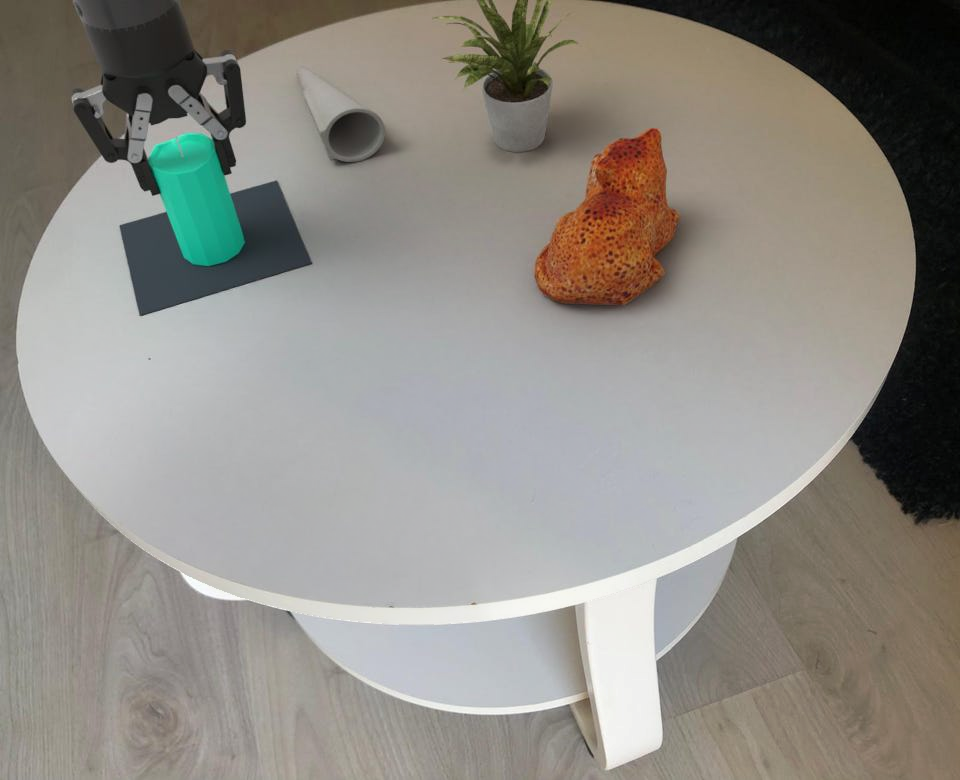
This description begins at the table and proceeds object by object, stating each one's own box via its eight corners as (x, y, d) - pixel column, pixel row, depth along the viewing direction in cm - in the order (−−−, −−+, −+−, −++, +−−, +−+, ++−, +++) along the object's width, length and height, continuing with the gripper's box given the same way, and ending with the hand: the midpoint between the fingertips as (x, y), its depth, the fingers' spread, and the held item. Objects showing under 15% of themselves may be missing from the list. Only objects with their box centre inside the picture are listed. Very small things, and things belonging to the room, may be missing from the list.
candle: (248, 222, 96) (215, 114, 87) (241, 263, 92) (205, 154, 83) (186, 227, 96) (147, 120, 87) (177, 268, 92) (135, 160, 83)
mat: (139, 316, 89) (139, 315, 89) (119, 226, 98) (119, 225, 98) (311, 263, 92) (311, 262, 92) (277, 181, 101) (276, 180, 101)
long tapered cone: (354, 75, 116) (392, 149, 102) (302, 94, 116) (333, 170, 102) (338, 29, 112) (375, 99, 98) (285, 48, 112) (315, 121, 98)
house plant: (462, 91, 109) (447, -58, 97) (588, 93, 107) (589, -58, 95) (438, 169, 100) (418, 16, 88) (575, 174, 98) (575, 17, 86)
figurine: (591, 196, 95) (592, 104, 88) (698, 225, 91) (708, 132, 84) (516, 295, 87) (511, 203, 79) (630, 333, 83) (636, 239, 75)
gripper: (210, -42, 80) (260, 137, 92) (28, 1, 77) (105, 179, 90) (228, -2, 75) (278, 181, 88) (35, 46, 72) (115, 227, 85)
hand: (190, 179), depth 89 cm, fingers closed on candle, 6 cm apart
